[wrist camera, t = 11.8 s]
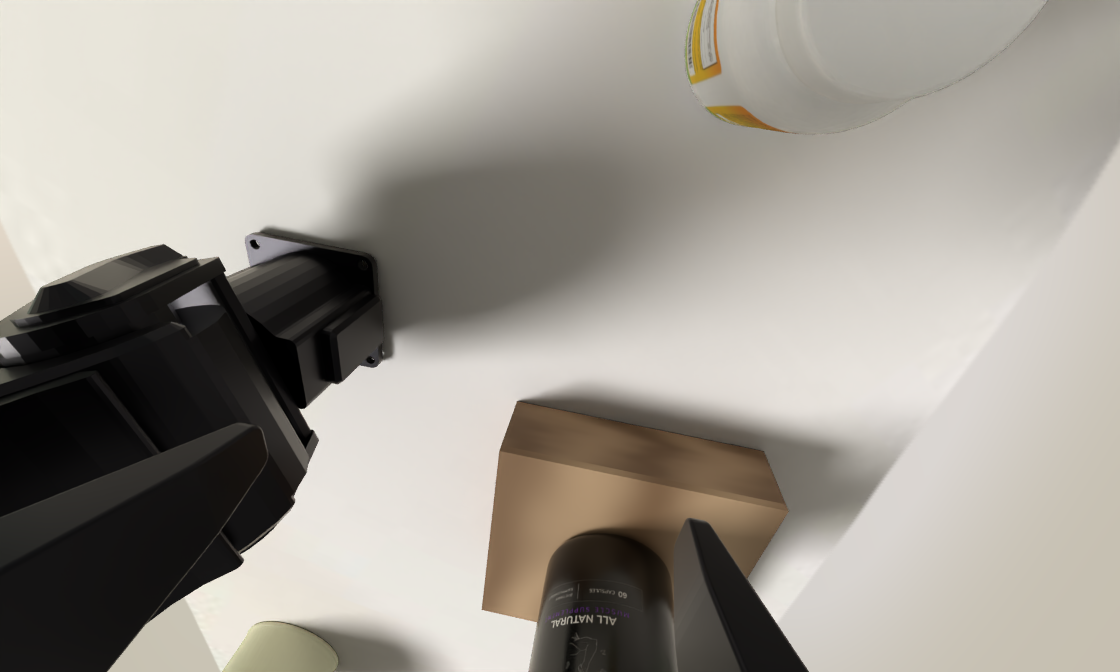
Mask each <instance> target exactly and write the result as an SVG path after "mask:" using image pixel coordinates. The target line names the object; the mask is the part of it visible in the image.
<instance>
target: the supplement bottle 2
mask: <svg viewBox="0 0 1120 672" xmlns="http://www.w3.org/2000/svg"><path fill="white" fill-rule="evenodd" d="M1047 1H1048V0H698V1H697V4H696V6H695V8H694V11H693V13H692V16H691V19H690V22H689V25H688V29H687V33H686V40H685V68H686V73H687V77H688V81H689V84H690V86H691V89H692V91H693V93H694V95H695V96H696V98H697V99H698V101H699V102H700V104H701V105H702V106H703V107H704V108H705V109H706V110H707V111H708V112H710V113H711V114H712V115H714V116H715V117H717V118H719V119H721V120H723V121H725V122H728V123H731V124H734V125H739V126H745V127H754V128H761V129H766V130H773V131H780V132H786V133H795V134H829V133H837V132H843V131H847V130H850V129H853V128H857V127H860V126H863V125H866V124H868V123H871V122H873V121H875V120H877V119H879V118H881V117H883V116H885V115H887V114H889V113H891V112H892V111H894V110H896V109H897V108H899V107H901V106H902V105H904V104H905V103H906V102H908V101H909V100H911V99H912V98H917V97H921V96H924V95H927V94H930V93H933V92H935V91H938V90H941V89H943V88H946V87H948V86H950V85H952V84H954V83H956V82H958V81H960V80H962V79H964V78H965V77H967V76H969V75H971V74H972V73H974V72H975V71H976V70H978V69H979V68H981V67H982V66H984V65H985V64H987V63H988V62H989V61H991V60H992V59H993V58H995V57H996V56H997V55H998V54H999V53H1001V52H1002V51H1003V50H1004V49H1005V48H1006V47H1008V46H1009V45H1010V44H1011V43H1012V42H1013V41H1014V40H1015V39H1016V38H1017V37H1018V36H1019V35H1020V34H1021V33H1022V32H1023V31H1024V30H1025V29H1026V27H1027V26H1028V25H1029V24H1030V23H1031V22H1032V21H1033V20H1034V18H1035V17H1036V16H1037V14H1038V13H1039V12H1040V10H1041V9H1042V8H1043V7H1044V5H1045V4H1046V3H1047Z"/></svg>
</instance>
